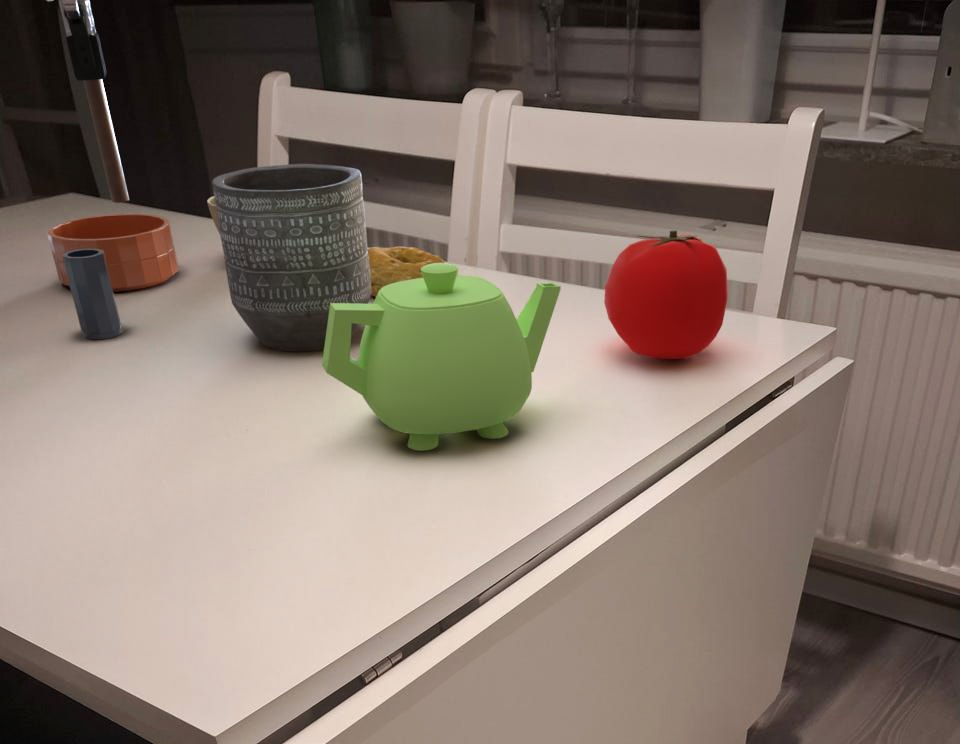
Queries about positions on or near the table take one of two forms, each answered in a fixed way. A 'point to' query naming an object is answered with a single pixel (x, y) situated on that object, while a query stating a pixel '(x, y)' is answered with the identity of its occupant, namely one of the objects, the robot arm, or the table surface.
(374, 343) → the teapot
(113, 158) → the stick
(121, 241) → the bowl
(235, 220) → the planter
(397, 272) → the bagel
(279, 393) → the table surface
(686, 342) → the tomato
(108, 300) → the tube
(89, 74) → the robot arm
